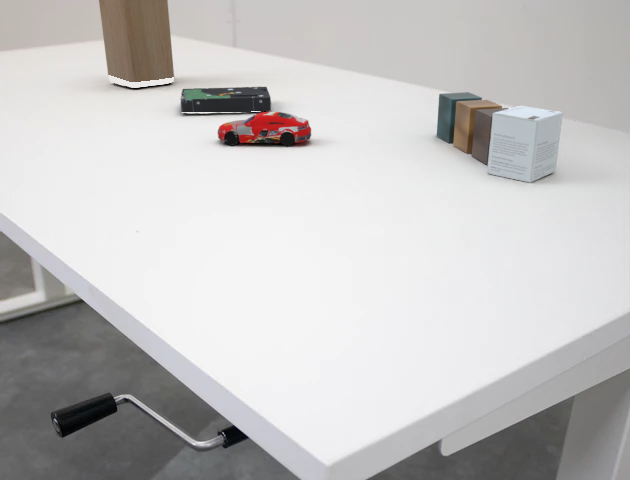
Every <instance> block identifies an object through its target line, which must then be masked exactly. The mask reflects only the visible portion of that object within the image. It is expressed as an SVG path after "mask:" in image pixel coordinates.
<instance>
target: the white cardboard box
mask: <svg viewBox="0 0 630 480" xmlns="http://www.w3.org/2000/svg"><path fill="white" fill-rule="evenodd" d="M563 116H564V112H562V111H557V110H551V109H545V108H538V107H532V106H527V105H517V106H513V107H509V109H506V110H503V111H499V112H495V113H493V117H492V127H491V137H490V147H489V157H488V165H487V168H486V172H487V174H489V175H493V176H497V177H502V178H507V179H511V180H517V181H519V182H520V181H521V182H525V183H533V182H536V181H537V180H540V179H542V178H544V177H546V176H548V175H550V174H553V173H555V172H556V168H557V161H558V155H559V146H560V139H561V132H562V124H563Z"/></svg>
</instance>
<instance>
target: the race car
mask: <svg viewBox="0 0 630 480" xmlns="http://www.w3.org/2000/svg"><path fill="white" fill-rule="evenodd" d="M311 137H312V128H311V126H310V122H309V119H308V118H307V119H306V118H303V117H298V116H297V115H294V114H292V113H287V112H281V111H266V112H264V111H263V112H259V113H255V114H254V115H252V116H250V117H248V118H246V119H239V120H233V121H228V122H225V123H222V124H221V125H219V127H218V130H217V138H218V139H219V140H220V141H222V142H226V144H227V145H229V146H232V147H233V146H236V145H238V144H239V143H241V144H245V143H246V144H282V145H283V146H285V147H291V146H293V144H294V143H295V144H299V143H303V142H306V141H308V140H310V139H311Z"/></svg>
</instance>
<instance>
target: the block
mask: <svg viewBox="0 0 630 480" xmlns="http://www.w3.org/2000/svg"><path fill="white" fill-rule="evenodd" d="M98 4H99V13H100V20H101V28H102V29H101V30H102V37H103V45H104V51H105V60H106V69H107V76H108V75H111V76H114V77H117V78H120V79H123V80H126V81H129V82H141V81H150V80H159V79H165V78H172V77H174V78H175V73H174V72H175V71H174V70H175V69H174V60H173V59H174V58H173V48H172V47H173V46H172V36H171V27H170V26H171V25H170V13H169V2H168V0H98Z"/></svg>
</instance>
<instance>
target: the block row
mask: <svg viewBox="0 0 630 480" xmlns="http://www.w3.org/2000/svg"><path fill="white" fill-rule="evenodd" d="M437 109H438V110H437V122H436V123H437V124H436V137H437V138H439V139H441V140H442V141H444V142H446V143H447V144H452V146H453V147H455V148H456V149H458V150H460V151H461V152H463V153H466V154H467V155H468V154H471V158H474V159H475V160H477V161H479V162H480V163H482V164H484V165H486V166H488V157H489V147H490V137H491V127H492V117H493V113H495V112H499V111H503V110H506V109H510V107H503V105H501V104H499V103H497V102H494V101H492V100H489V99H483V97H481V96H479V95H476V94H474V93H472V92H469V91H464V92H447V93H446V92H445V93H439V94H438V107H437Z"/></svg>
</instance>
